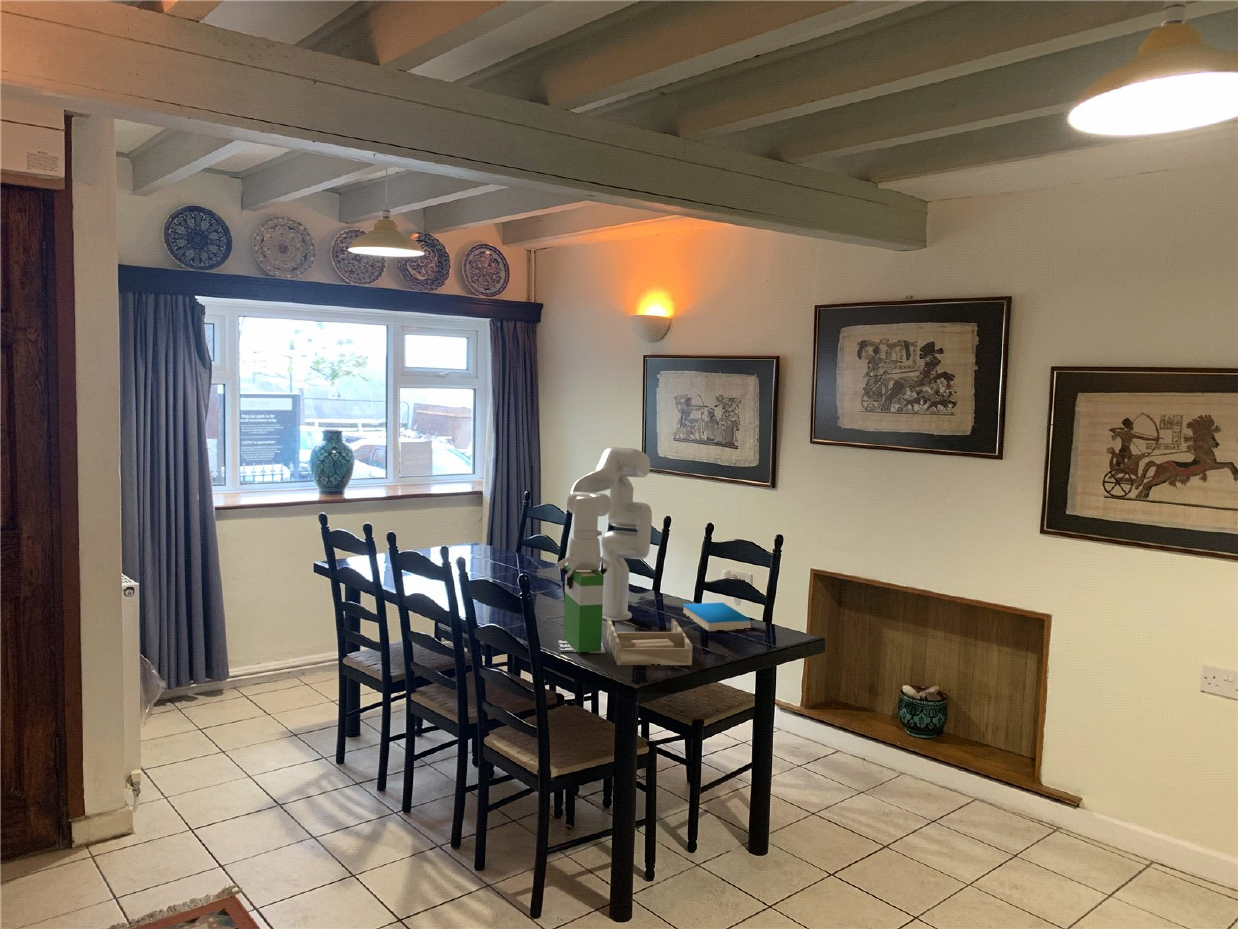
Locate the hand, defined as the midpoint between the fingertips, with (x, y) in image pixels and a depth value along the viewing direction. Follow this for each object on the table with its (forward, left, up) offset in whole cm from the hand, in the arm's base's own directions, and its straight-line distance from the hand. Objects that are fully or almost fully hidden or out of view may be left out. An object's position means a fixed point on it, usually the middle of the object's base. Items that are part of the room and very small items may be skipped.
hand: (583, 588), depth 289 cm
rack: (+3, +21, -19) cm, 29 cm away
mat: (0, 0, -19) cm, 19 cm away
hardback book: (0, 0, -18) cm, 18 cm away
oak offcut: (+13, +21, -17) cm, 30 cm away
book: (-33, +52, -20) cm, 65 cm away
